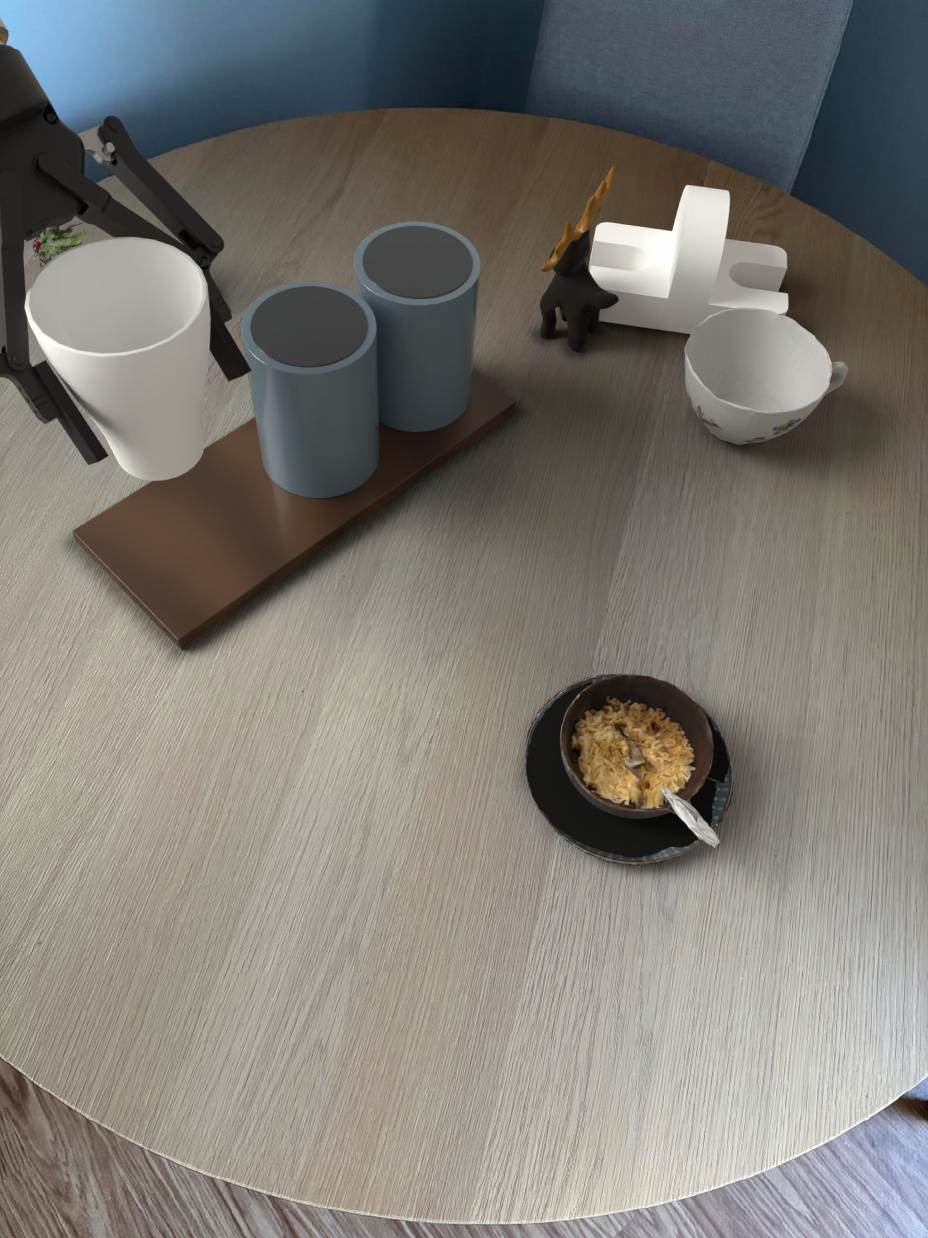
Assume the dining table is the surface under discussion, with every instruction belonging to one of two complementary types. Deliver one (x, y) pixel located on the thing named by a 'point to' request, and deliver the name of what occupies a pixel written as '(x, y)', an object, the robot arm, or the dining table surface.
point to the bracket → (685, 268)
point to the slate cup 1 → (314, 387)
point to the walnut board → (254, 519)
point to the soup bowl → (629, 769)
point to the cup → (130, 346)
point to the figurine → (576, 279)
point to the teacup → (756, 374)
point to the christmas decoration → (56, 240)
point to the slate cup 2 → (421, 320)
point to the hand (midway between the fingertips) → (171, 416)
